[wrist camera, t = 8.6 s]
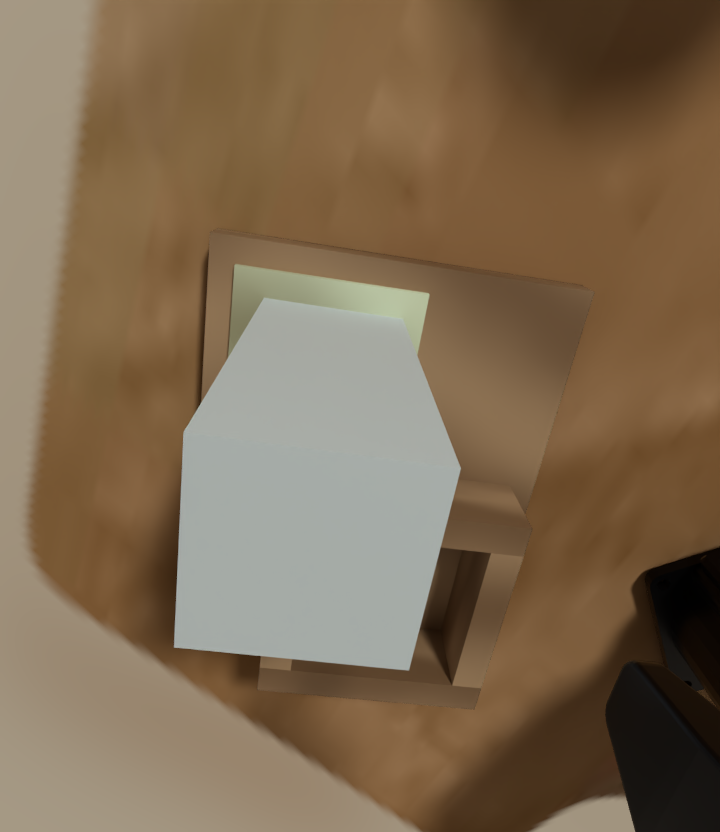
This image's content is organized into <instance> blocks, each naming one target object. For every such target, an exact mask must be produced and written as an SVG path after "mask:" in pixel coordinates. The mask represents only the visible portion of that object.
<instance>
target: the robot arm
mask: <svg viewBox="0 0 720 832" xmlns="http://www.w3.org/2000/svg"><path fill="white" fill-rule="evenodd" d="M661 580H663V581H662V582H661V583H658V582H659V581H661ZM645 585H646V589H647V593H648V597H649V602H650V606H651V610H652V614H653V619H654V623H655V627H656V631H657V635H658V640H659V644H660V648H661V652H662V657H663V661H664V665H665V666H664V665H662V664H660V663H656V662H649V661H638V660H631V661H628V662H627V663H626V664H624V666H623V668H622V670H621V672H620V674H619V677H618V679H617V681H616V683H615V685H614V688H613V690H612V692H611V694H610V697H609V699H608V701H607V705H606V714H605V716H606V723H607V728H608V731H609V735H610V739H611V743H612V746H613V750H614V754H615V757H616V761H617V765H618V769H619V772H620V776H621V780H622V784H623V787H624V791H625V795H626V799H627V802H628V806H629V810H630V813H631V817H632V821H633V825H634V828H635V832H720V548H719V549H716V550H712V551H709V552H706V553H703V554H700V555H696V556H693V557H690V558H687V559H684V560H680V561H677V562H674V563H671V564H668V565H664V566H661V567H658V568H655V569H653V570H651V571H650V572H649V573H648V574H647V575H646V577H645ZM702 689H705V691H706V692H707V693H708V695H709V696H710V698H711V699H712V701H713V702H714V704H715V705H716V707H715V706H714V705H713V704H712V703H710V702H709V701H708V700H707V699H705V698H704V697H703V696H702V695H700V694H699V693H698V692H697V691H699V690H702Z"/></svg>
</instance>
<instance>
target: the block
mask: <svg viewBox="0 0 720 832" xmlns="http://www.w3.org/2000/svg"><path fill="white" fill-rule="evenodd" d="M460 470H461V467H460V465H459V462H458V459H457V457H456V454H455V452H454V449H453V447H452V444H451V441H450V439H449V436H448V434H447V431H446V428H445V426H444V423H443V421H442V418H441V416H440V413H439V410H438V408H437V405H436V403H435V400H434V397H433V395H432V392H431V390H430V387H429V385H428V382H427V379H426V377H425V374H424V372H423V369H422V366H421V364H420V361H419V359H418V356H417V354H416V351H415V348H414V346H413V343H412V341H411V338H410V335H409V333H408V330H407V328H406V325H405V323H404V320H403V319H401V318H394V317H388V316H381V315H375V314H368V313H361V312H355V311H348V310H342V309H335V308H329V307H322V306H315V305H309V304H302V303H296V302H289V301H282V300H276V299H269V298H264V299H263V300H262V302H261V304H260V305H259V307H258V309H257V310H256V312H255V314H254V315H253V317H252V319H251V320H250V322H249V324H248V325H247V327H246V329H245V330H244V332H243V334H242V335H241V337H240V339H239V340H238V342H237V344H236V345H235V347H234V349H233V350H232V352H231V354H230V355H229V357H228V359H227V360H226V362H225V364H224V366H223V367H222V369H221V371H220V372H219V374H218V376H217V377H216V379H215V381H214V382H213V384H212V386H211V387H210V389H209V391H208V392H207V394H206V396H205V397H204V399H203V401H202V402H201V404H200V406H199V407H198V409H197V411H196V412H195V414H194V416H193V417H192V419H191V421H190V422H189V424H188V426H187V427H186V429H185V431H184V436H183V458H182V480H181V502H180V524H179V547H178V569H177V591H176V613H175V636H174V647H175V648H185V649H195V650H206V651H216V652H226V653H236V654H246V655H256V656H266V657H276V658H286V659H297V660H307V661H317V662H327V663H337V664H347V665H357V666H367V667H377V668H388V669H398V670H408V671H409V668H410V664H411V660H412V657H413V653H414V649H415V645H416V641H417V637H418V633H419V629H420V625H421V622H422V618H423V614H424V610H425V606H426V602H427V598H428V594H429V591H430V587H431V583H432V579H433V575H434V571H435V567H436V563H437V559H438V556H439V552H440V548H441V544H442V540H443V536H444V532H445V528H446V525H447V521H448V517H449V513H450V509H451V505H452V501H453V497H454V494H455V490H456V486H457V482H458V478H459V474H460Z"/></svg>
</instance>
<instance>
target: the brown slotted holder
mask: <svg viewBox="0 0 720 832" xmlns="http://www.w3.org/2000/svg"><path fill="white" fill-rule="evenodd" d="M593 296H594V291H592V290H590V289H588V288H586V287H584V286H582V285H577V284H570V283H564V282H558V281H551V280H545V279H538V278H532V277H526V276H519V275H513V274H506V273H500V272H494V271H487V270H481V269H474V268H468V267H462V266H455V265H449V264H442V263H436V262H430V261H423V260H417V259H410V258H404V257H398V256H391V255H385V254H378V253H372V252H366V251H359V250H353V249H346V248H340V247H334V246H327V245H321V244H314V243H308V242H302V241H295V240H289V239H282V238H276V237H270V236H263V235H257V234H250V233H244V232H238V231H231V230H225V229H218V228H217V229H215V230H213V231H211V232H210V241H209V261H208V280H207V300H206V319H205V338H204V358H203V377H202V397H201V402H202V401H203V399H204V397H205V396H206V394H207V392H208V391H209V389H210V387H211V386H212V384H213V382H214V381H215V379H216V377H217V376H218V374H219V372H220V371H221V369H222V367H223V366H224V364H225V362H226V360H227V359H228V357H229V355H230V354H231V352H232V350H233V349H234V347H235V345H236V344H237V342H238V340H239V339H240V337H241V335H242V334H243V332H244V330H245V329H246V327H247V325H248V324H249V322H250V320H251V319H252V317H253V315H254V314H255V312H256V310H257V309H258V307H259V305H260V304H261V302H262V300H263V299H264V298H269V299H276V300H282V301H289V302H296V303H302V304H309V305H315V306H322V307H329V308H335V309H342V310H348V311H355V312H361V313H368V314H375V315H381V316H388V317H394V318H401V319H403V320H404V323H405V325H406V328H407V330H408V333H409V335H410V338H411V341H412V343H413V346H414V348H415V351H416V354H417V356H418V359H419V361H420V364H421V366H422V369H423V372H424V374H425V377H426V379H427V382H428V385H429V387H430V390H431V392H432V395H433V397H434V400H435V403H436V405H437V408H438V410H439V413H440V416H441V418H442V421H443V423H444V426H445V428H446V431H447V434H448V436H449V439H450V441H451V444H452V447H453V449H454V452H455V454H456V457H457V459H458V462H459V465H460V467H461V470H460V474H459V478H458V482H457V486H456V490H455V494H454V497H453V501H452V505H451V509H450V513H449V517H448V521H447V525H446V528H445V532H444V536H443V540H442V544H441V548H440V552H439V556H438V559H437V563H436V567H435V571H434V575H433V579H432V583H431V587H430V591H429V594H428V598H427V602H426V606H425V610H424V614H423V618H422V622H421V625H420V629H419V633H418V637H417V641H416V645H415V649H414V653H413V657H412V660H411V664H410V668H409V671H408V670H398V669H388V668H377V667H367V666H357V665H347V664H337V663H327V662H317V661H307V660H297V659H286V658H276V657H266V656H261V661H260V669H259V678H258V686H257V690H262V691H273V692H284V693H296V694H307V695H318V696H329V697H340V698H351V699H362V700H373V701H384V702H395V703H406V704H417V705H428V706H439V707H450V708H462V709H473V710H474V709H475V706H476V703H477V700H478V697H479V694H480V691H481V688H482V685H483V681H484V678H485V675H486V672H487V669H488V666H489V663H490V660H491V657H492V653H493V650H494V647H495V644H496V641H497V638H498V635H499V632H500V629H501V625H502V622H503V619H504V616H505V613H506V610H507V607H508V604H509V601H510V598H511V594H512V591H513V588H514V585H515V582H516V579H517V576H518V573H519V570H520V566H521V563H522V560H523V557H524V554H525V551H526V548H527V545H528V542H529V538H530V535H531V532H532V527H531V525H530V523H529V521H528V519H527V517H526V515H525V513H526V510H527V507H528V504H529V501H530V497H531V494H532V491H533V488H534V485H535V481H536V478H537V475H538V472H539V469H540V465H541V462H542V459H543V456H544V453H545V449H546V446H547V443H548V440H549V437H550V433H551V430H552V427H553V424H554V421H555V417H556V414H557V411H558V408H559V405H560V401H561V398H562V395H563V392H564V389H565V385H566V382H567V379H568V376H569V373H570V369H571V366H572V363H573V360H574V356H575V353H576V350H577V347H578V344H579V340H580V337H581V334H582V331H583V328H584V324H585V321H586V318H587V315H588V312H589V308H590V305H591V302H592V299H593Z"/></svg>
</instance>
